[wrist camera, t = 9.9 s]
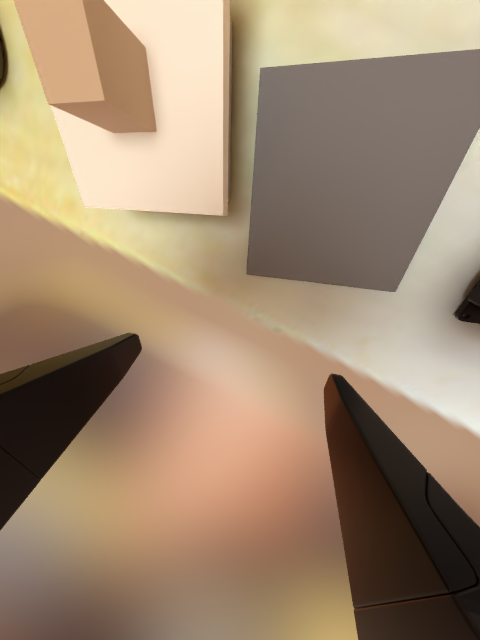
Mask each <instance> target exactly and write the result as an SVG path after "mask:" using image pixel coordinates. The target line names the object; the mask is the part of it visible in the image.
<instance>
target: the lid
mask: <svg viewBox="0 0 480 640" xmlns="http://www.w3.org/2000/svg"><path fill="white" fill-rule="evenodd" d="M14 2H15V5H16V8H17V11H18V14H19V17H20V20H21V23H22V26H23V29H24V32H25V35H26V38H27V41H28V44H29V47H30V50H31V54H32V57H33V60H34V63H35V66H36V69H37V72H38V75H39V78H40V81H41V84H42V87H43V90H44V93H45V96H46V99H47V102H48V104H49V105H51V108H52V111H53V114H54V117H55V120H56V123H57V126H58V129H59V132H60V135H61V138H62V141H63V144H64V147H65V150H66V153H67V156H68V159H69V162H70V165H71V168H72V172H73V175H74V178H75V181H76V184H77V187H78V190H79V193H80V196H81V199H82V202H83V205H84V207H92V208H108V209H124V210H140V211H156V212H172V213H188V214H204V215H220V216H228V138H229V53H230V0H14Z"/></svg>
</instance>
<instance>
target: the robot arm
mask: <svg viewBox="0 0 480 640" xmlns="http://www.w3.org/2000/svg"><path fill="white" fill-rule="evenodd" d="M466 313H467V314H466ZM464 314H466V315H465V316H463V315H464ZM455 317H456V318H457V319H458V320H460V321H464V322H471V323H479V324H480V281H479V282H478V283H477V285H476V286H475V287H474V289H473V290H472V292H471V293H470V294H469V296H468V297H467V298H466V300H465V301H464V302H463V304H462V305H461V306H460V308H459V309H458V311H457V312H456V313H455ZM141 349H142V346H141V343H140V340H139V336H138V335H137V334H133V333H126V334H123V335H120V336H117V337H114V338H111V339H108V340H105V341H102V342H99V343H96V344H92V345H89V346H86V347H83V348H80V349H77V350H74V351H71V352H68V353H65V354H62V355H59V356H56V357H52V358H49V359H46V360H44V361H40V362H37V363H34V364H32V365H28V366H25V367H21V368H18V369H16V370H12V371H9V372H6V373H3V374H0V530H1V529H2V528H3V526H4V525H5V524H6V523H7V521H8V520H9V519H10V518H11V517H12V515H13V514H14V513H15V512H16V510H17V509H18V508H19V507H20V505H21V504H22V503H23V502H24V500H25V499H26V498H27V497H28V495H29V494H30V493H31V492H32V490H33V489H34V488H35V487H36V486H37V484H38V483H39V482H40V480H41V479H42V478H43V477H44V475H45V474H46V473H47V472H48V470H49V469H50V468H51V467H52V465H53V464H54V463H55V462H56V461H57V459H58V458H59V457H60V456H61V454H62V453H63V452H64V451H65V449H66V448H67V447H68V446H69V444H70V443H71V441H73V439H74V438H75V437H76V436H77V434H78V433H79V432H80V431H81V430H82V428H83V427H84V426H85V425H86V423H87V422H88V421H89V420H90V418H91V417H92V416H93V415H94V414H95V412H96V411H97V410H98V409H99V407H100V406H101V405H102V404H103V402H104V401H105V400H106V398H107V397H108V396H109V395H110V394H111V392H112V391H113V390H114V388H115V387H116V386H117V385H118V384H119V382H120V381H121V380H122V379H123V377H124V376H125V375H126V373H127V372H128V370H129V368H130V367H131V365H132V364H133V363H134V361H135V360H136V358H137V357H138V355H139V354H140V352H141ZM324 407H325V428H326V436H327V442H328V449H329V456H330V461H331V468H332V474H333V480H334V487H335V494H336V499H337V506H338V512H339V519H340V525H341V532H342V537H343V544H344V551H345V557H346V563H347V569H348V576H349V582H350V589H351V595H352V601H353V606H354V608H355V609H354V615H355V621H356V628H357V634H358V640H480V527H479V526H478V525H477V524H476V523H475V522H474V521H473V520H472V519H471V518H470V517H469V515H468V514H466V512H465V511H464V510H463V509H462V508H461V507H460V506H459V505H458V504H457V503H456V502H455V500H454V499H453V498H452V497H451V496H450V495H449V494H448V493H447V492H446V491H445V490H444V489H443V487H442V486H441V485H440V484H439V483H438V482H437V481H436V480H435V478H434V477H433V476H432V475H431V474H430V473H428V472H427V470H426V469H425V467H424V466H423V465H422V464H421V463H420V462H419V461H418V460H417V459H416V457H414V455H413V454H412V453H411V452H410V451H409V450H408V449H407V447H406V446H405V445H404V444H403V443H402V442H401V441H400V440H399V439H398V438H397V436H396V435H395V434H394V433H393V432H392V431H391V430H390V428H388V426H387V425H386V424H385V423H384V422H383V421H382V420H381V418H380V417H379V416H378V415H377V414H376V413H375V412H374V411H373V410H372V408H371V407H370V406H369V405H368V404H367V403H366V402H365V401H364V400H363V398H362V397H361V396H360V395H359V394H358V393H357V392H356V391H355V390H354V388H353V387H352V386H351V385H350V384H349V383H348V382H347V381H346V380H345V378H344V377H343V376H341V375H337V374H330V375H329V378H328V380H327V382H326V385H325V387H324Z"/></svg>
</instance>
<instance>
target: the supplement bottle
mask: <svg viewBox="0 0 480 640" xmlns="http://www.w3.org/2000/svg"><path fill="white" fill-rule="evenodd" d="M3 72H4V56H3V49H2V44H1V40H0V81H1V79H2V76H3Z"/></svg>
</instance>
